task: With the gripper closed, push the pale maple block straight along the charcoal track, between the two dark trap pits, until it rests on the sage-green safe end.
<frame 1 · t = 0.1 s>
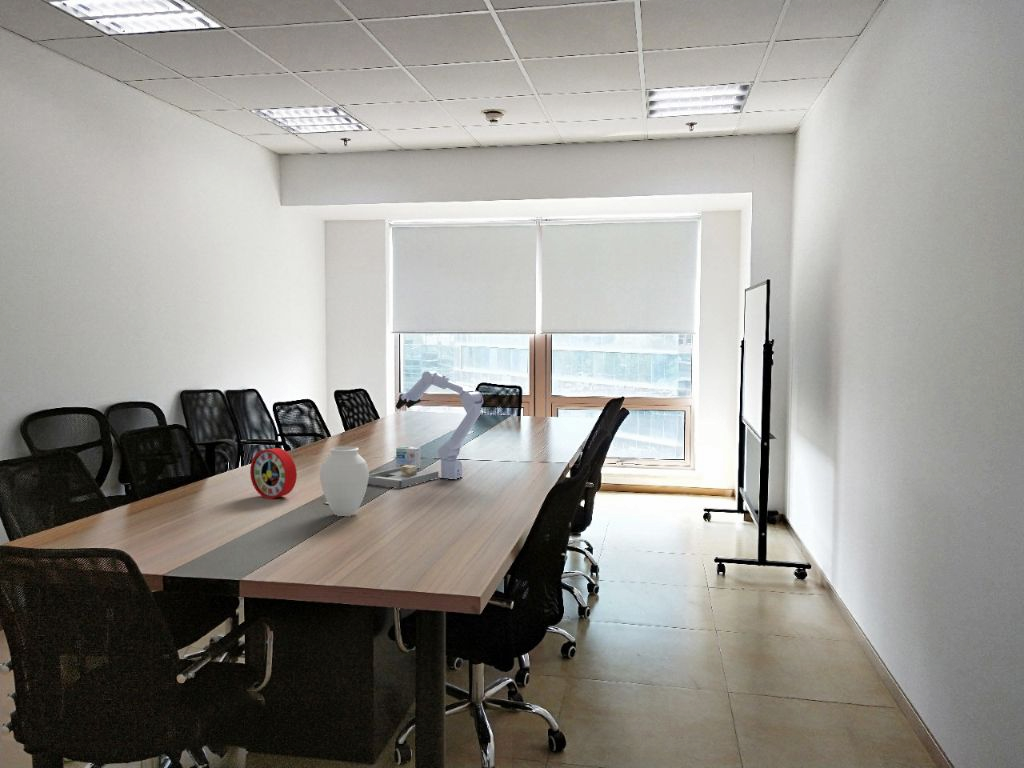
hand: (402, 407, 373), 32 cm above the table, tool tilted 50°, fingers open, 7 cm apart
trap track: (400, 481, 353), on the table
toy clock: (273, 497, 317), on the table
vase: (345, 515, 287), on the table
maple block: (409, 474, 358), point 2 cm above the table, touching trap track
light bulb box: (408, 469, 386), on the table
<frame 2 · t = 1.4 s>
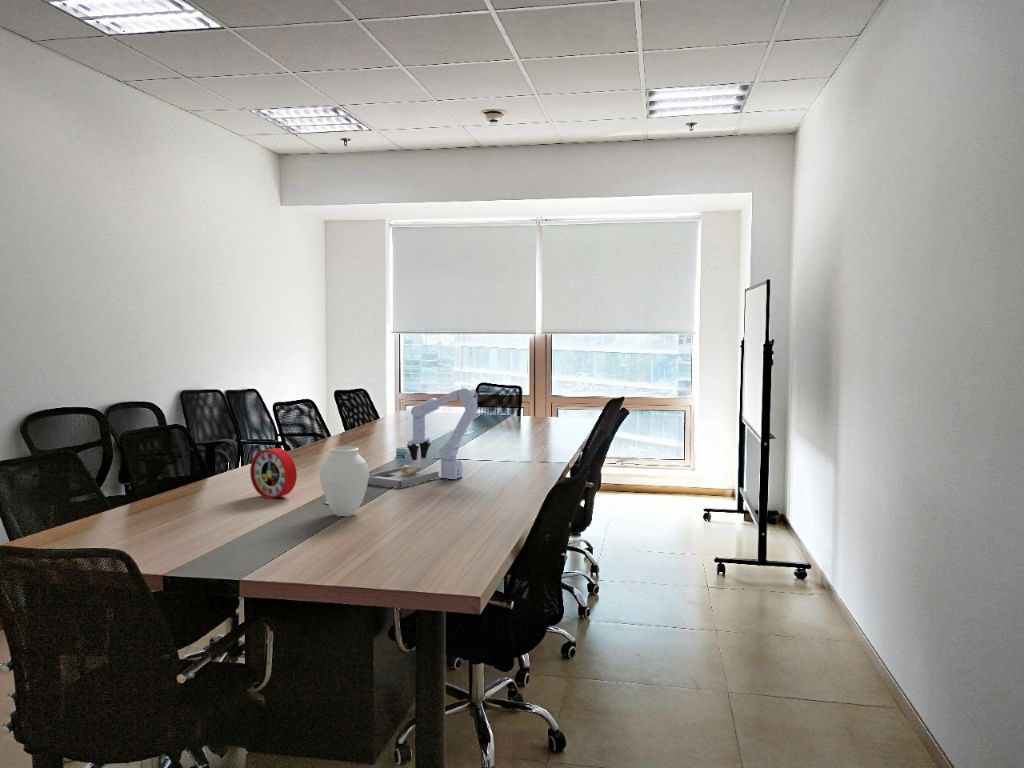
hand: (419, 458, 364), 8 cm above the table, tool pointing down, fingers open, 6 cm apart
nothing on the table moved.
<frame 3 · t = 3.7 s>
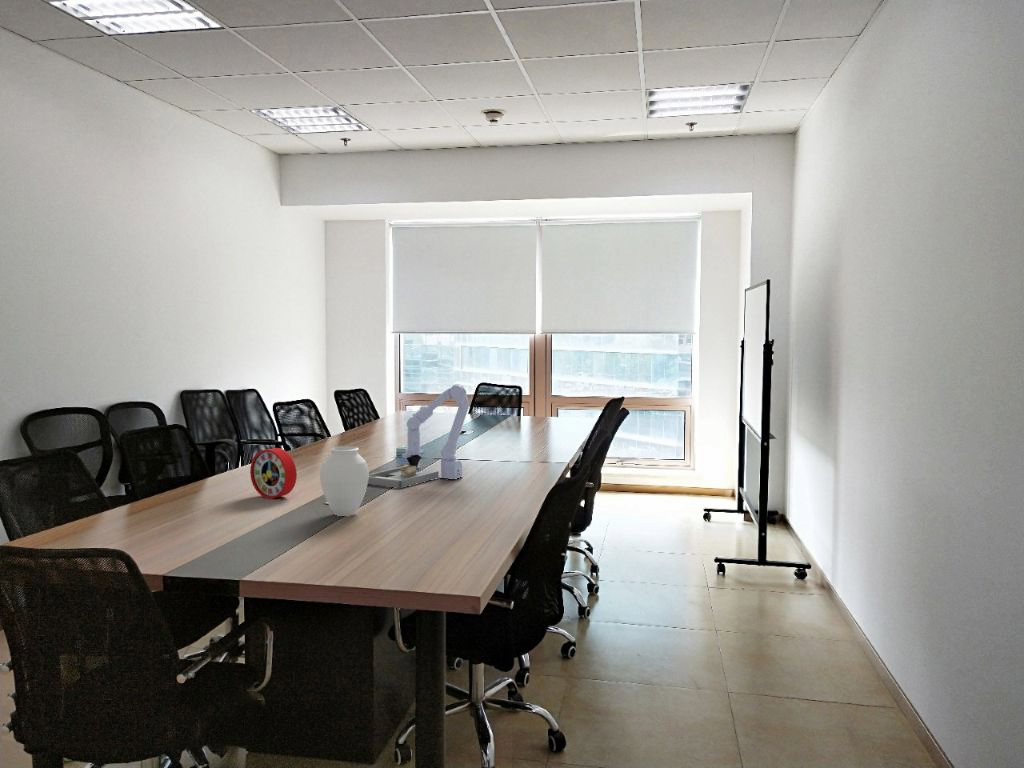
hand: (413, 471, 361), 3 cm above the table, tool pointing down, fingers closed
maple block: (408, 474, 357), point 2 cm above the table, touching gripper
everything else where it was.
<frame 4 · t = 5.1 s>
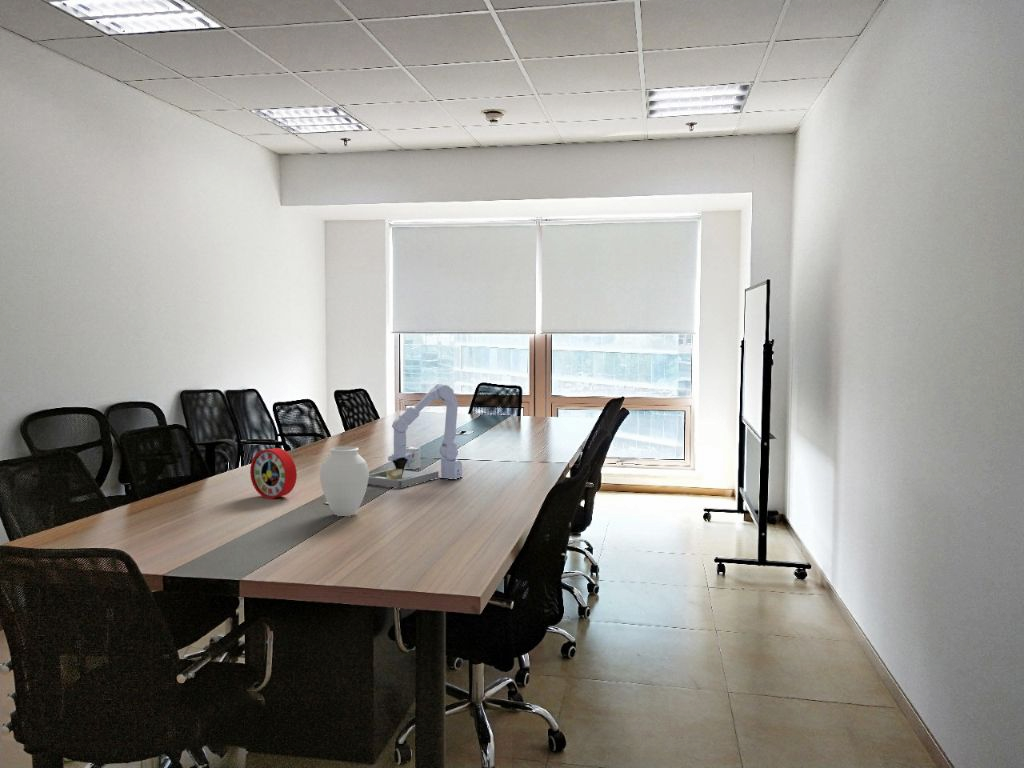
hand: (400, 474, 352), 3 cm above the table, tool pointing down, fingers closed
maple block: (394, 478, 349), point 2 cm above the table, touching gripper
everything else where it was.
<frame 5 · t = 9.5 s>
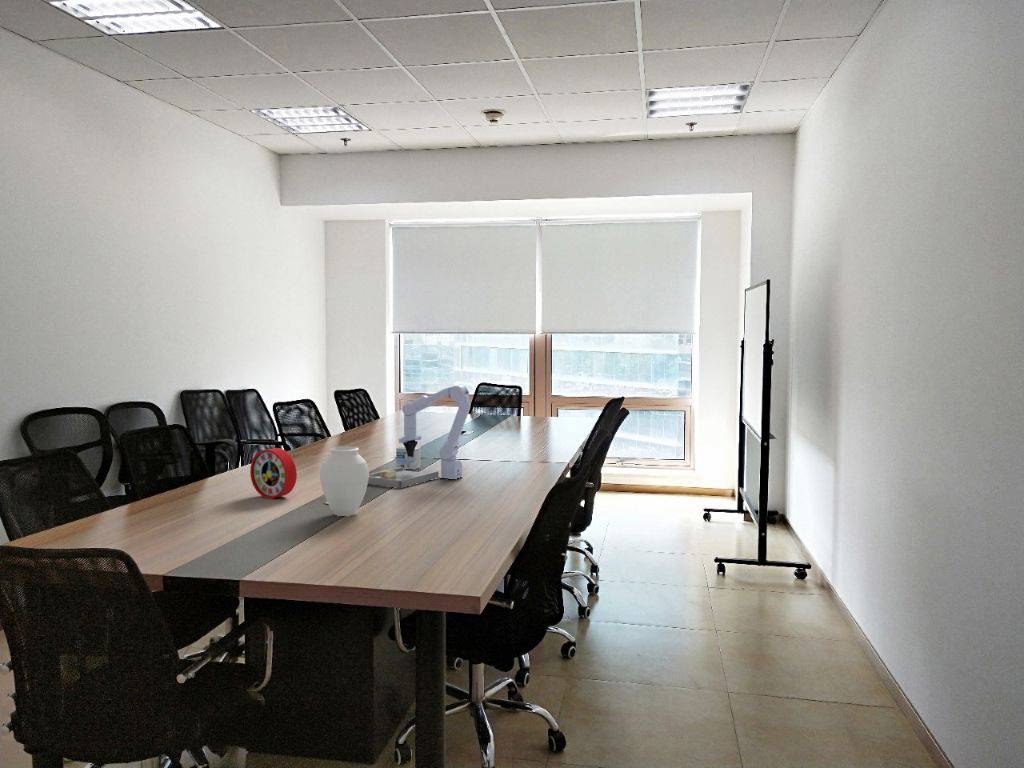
hand: (410, 456, 364), 9 cm above the table, tool pointing down, fingers closed
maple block: (388, 479, 345), point 2 cm above the table, touching trap track
everything else where it was.
at the end: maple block inside the target area (0.6 cm from its centre), point 2.0 cm above the table; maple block tilted 0° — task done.
